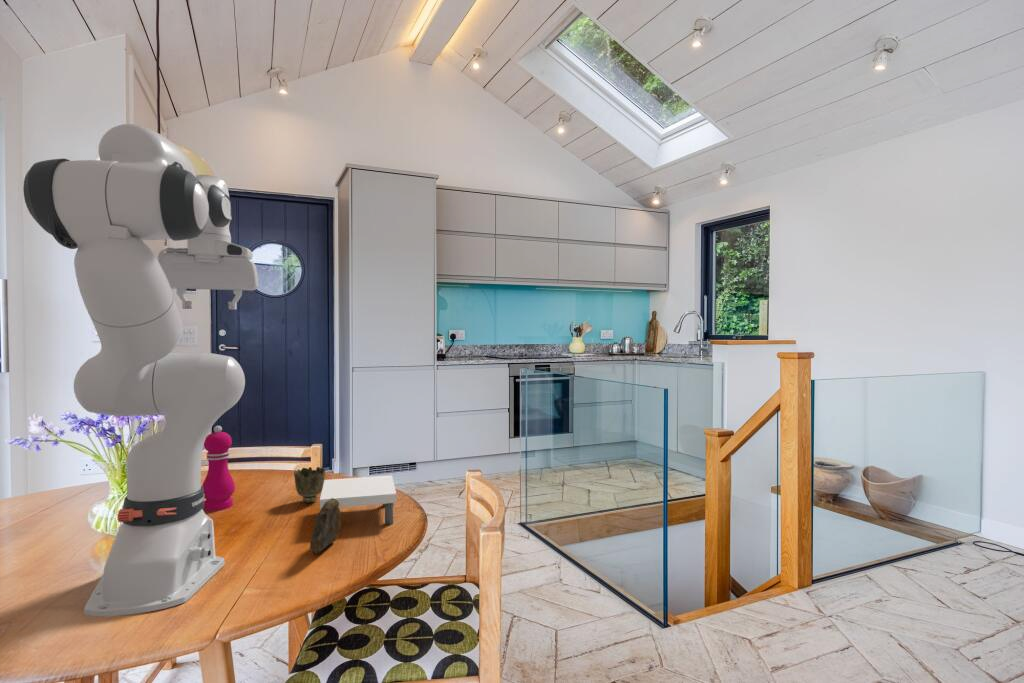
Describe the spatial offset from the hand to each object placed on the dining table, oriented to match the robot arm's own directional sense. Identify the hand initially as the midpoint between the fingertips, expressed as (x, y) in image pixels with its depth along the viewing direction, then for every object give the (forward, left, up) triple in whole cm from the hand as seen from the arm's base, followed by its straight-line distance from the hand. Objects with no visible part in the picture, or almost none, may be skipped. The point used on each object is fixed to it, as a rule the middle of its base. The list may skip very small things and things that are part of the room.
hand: (210, 309), depth 124 cm
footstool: (-10, -33, -48) cm, 59 cm away
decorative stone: (-28, -27, -48) cm, 62 cm away
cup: (+5, -21, -48) cm, 53 cm away
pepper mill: (+6, 0, -48) cm, 49 cm away
